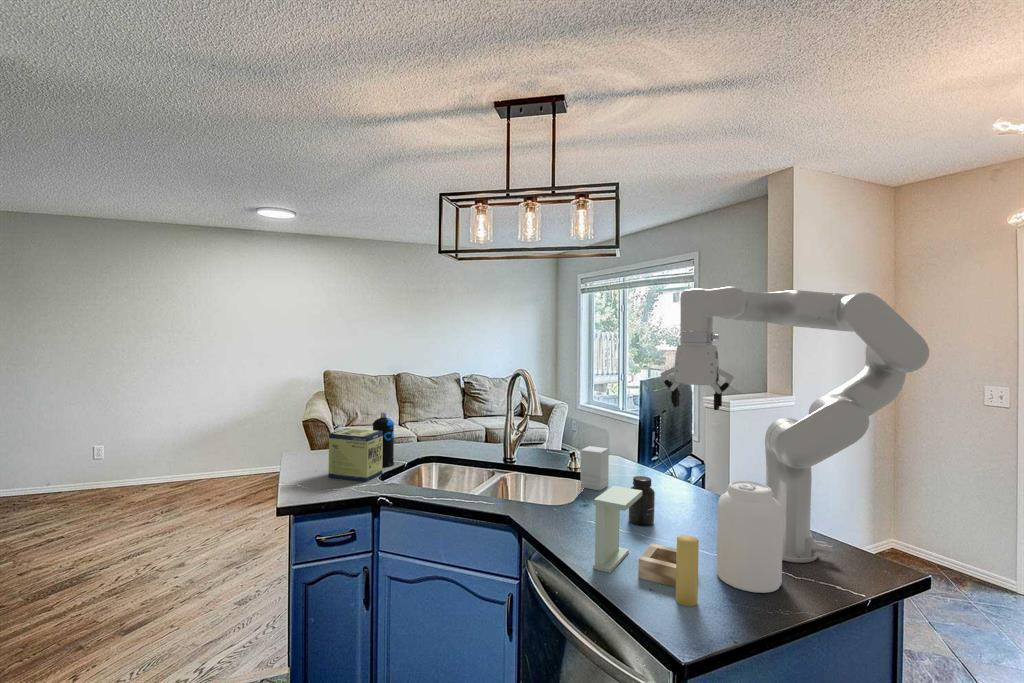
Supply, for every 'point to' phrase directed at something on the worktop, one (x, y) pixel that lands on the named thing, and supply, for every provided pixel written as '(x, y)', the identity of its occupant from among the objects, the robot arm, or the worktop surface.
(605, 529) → the pale green stand
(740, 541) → the can
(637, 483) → the supplement bottle
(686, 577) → the peg
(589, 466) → the supplement box
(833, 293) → the robot arm
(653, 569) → the socket block
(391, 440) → the black bottle
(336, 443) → the protein box
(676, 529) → the worktop surface
